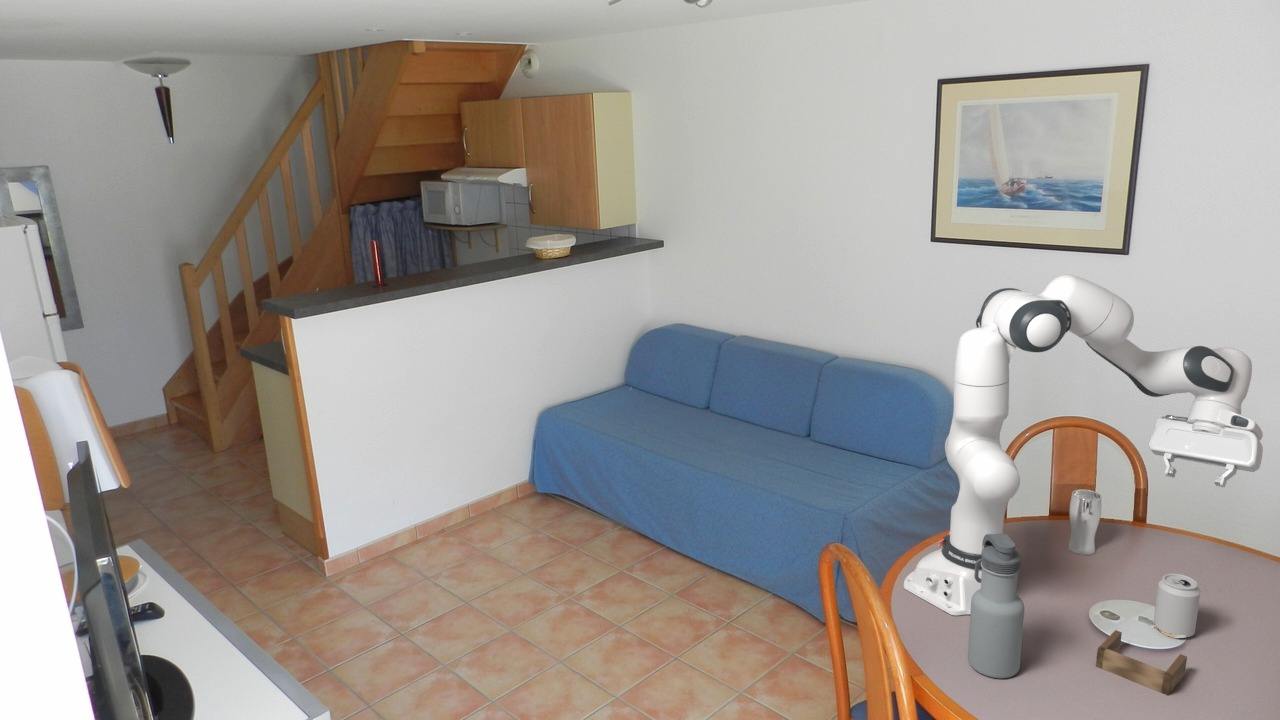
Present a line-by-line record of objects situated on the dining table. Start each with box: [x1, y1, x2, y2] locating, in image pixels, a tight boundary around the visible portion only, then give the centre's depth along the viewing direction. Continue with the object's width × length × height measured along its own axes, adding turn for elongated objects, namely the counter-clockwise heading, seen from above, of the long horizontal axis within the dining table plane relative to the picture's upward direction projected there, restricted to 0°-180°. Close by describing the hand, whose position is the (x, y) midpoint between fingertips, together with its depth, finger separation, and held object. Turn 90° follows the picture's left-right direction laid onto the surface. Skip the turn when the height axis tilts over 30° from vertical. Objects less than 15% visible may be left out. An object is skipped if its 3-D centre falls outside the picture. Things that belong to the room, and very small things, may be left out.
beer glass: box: [1067, 488, 1102, 556], centre depth 213 cm, size 7×7×15 cm
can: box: [1153, 573, 1201, 638], centre depth 179 cm, size 8×8×12 cm
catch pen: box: [1095, 629, 1188, 696], centre depth 168 cm, size 13×9×4 cm
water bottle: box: [967, 533, 1025, 679], centre depth 169 cm, size 10×10×28 cm
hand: (1193, 480), depth 179 cm, fingers open, 8 cm apart
